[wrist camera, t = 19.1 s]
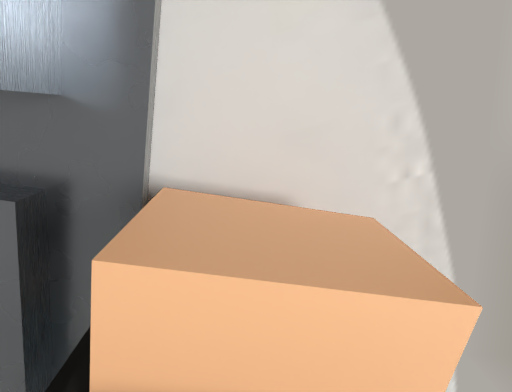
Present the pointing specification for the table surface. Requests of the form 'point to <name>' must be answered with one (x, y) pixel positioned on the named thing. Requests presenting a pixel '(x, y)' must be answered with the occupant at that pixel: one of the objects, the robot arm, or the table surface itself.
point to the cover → (269, 303)
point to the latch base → (67, 165)
